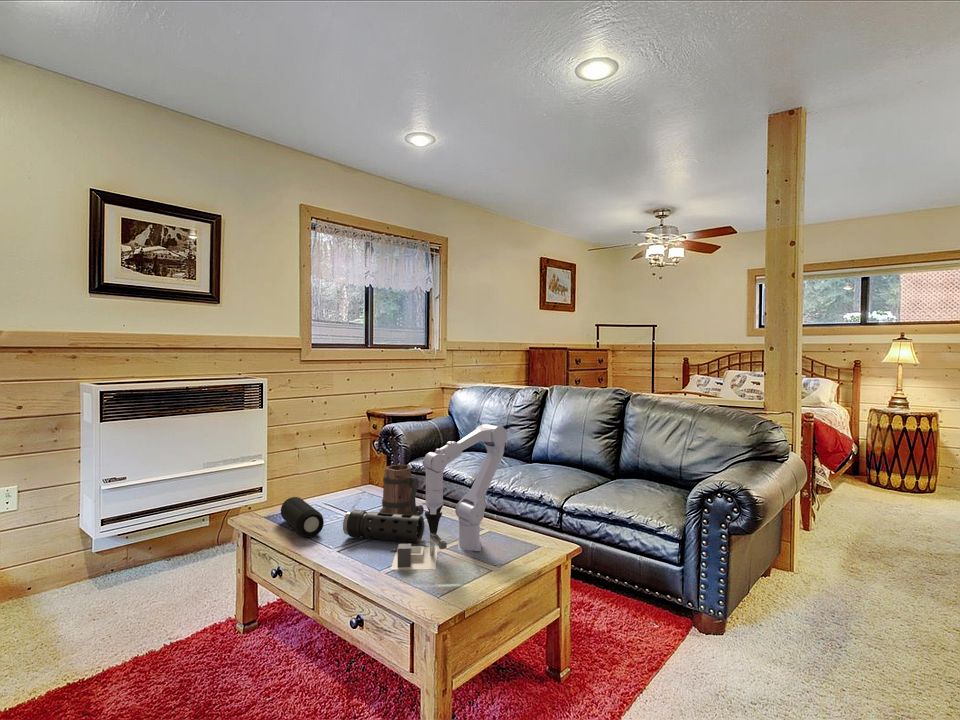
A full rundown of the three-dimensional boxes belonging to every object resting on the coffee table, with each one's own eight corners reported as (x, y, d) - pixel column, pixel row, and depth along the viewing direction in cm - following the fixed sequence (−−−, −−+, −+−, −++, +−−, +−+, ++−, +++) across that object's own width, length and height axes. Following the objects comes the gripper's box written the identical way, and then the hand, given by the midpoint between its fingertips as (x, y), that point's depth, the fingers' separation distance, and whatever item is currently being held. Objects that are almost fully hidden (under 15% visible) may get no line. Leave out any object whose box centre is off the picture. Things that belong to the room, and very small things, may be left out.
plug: (390, 562, 169) (390, 543, 169) (411, 562, 169) (411, 543, 169) (389, 567, 165) (389, 548, 165) (410, 567, 165) (410, 548, 165)
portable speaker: (325, 536, 193) (325, 509, 193) (298, 542, 188) (298, 514, 187) (303, 517, 214) (303, 493, 214) (278, 522, 208) (278, 497, 208)
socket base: (397, 548, 181) (397, 541, 181) (437, 548, 182) (437, 541, 182) (390, 571, 163) (390, 563, 163) (435, 570, 164) (435, 562, 164)
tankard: (368, 514, 218) (368, 467, 217) (400, 505, 230) (400, 460, 230) (405, 528, 202) (405, 477, 202) (437, 517, 215) (437, 469, 214)
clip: (440, 568, 164) (440, 543, 163) (428, 554, 174) (428, 531, 174) (446, 567, 164) (446, 542, 164) (434, 553, 175) (434, 530, 175)
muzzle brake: (416, 549, 182) (416, 519, 181) (341, 542, 187) (341, 514, 187) (424, 539, 191) (424, 511, 191) (353, 533, 197) (353, 506, 196)
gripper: (423, 483, 181) (423, 521, 182) (420, 495, 167) (420, 537, 167) (444, 483, 182) (443, 521, 182) (442, 494, 167) (442, 536, 168)
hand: (434, 529), depth 175 cm, fingers open, 7 cm apart
